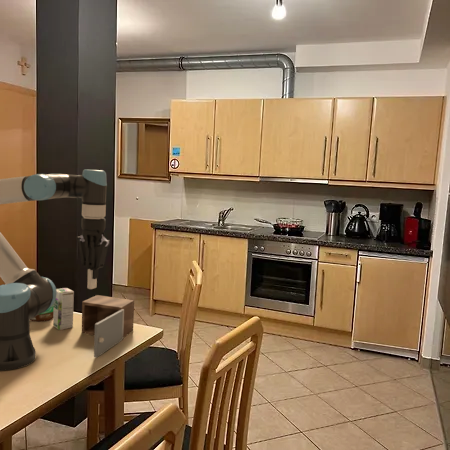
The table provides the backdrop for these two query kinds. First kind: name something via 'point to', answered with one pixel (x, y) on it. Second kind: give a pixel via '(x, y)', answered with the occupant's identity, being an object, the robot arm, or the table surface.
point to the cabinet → (106, 312)
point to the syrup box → (63, 309)
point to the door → (108, 332)
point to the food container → (44, 315)
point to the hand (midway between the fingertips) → (92, 287)
